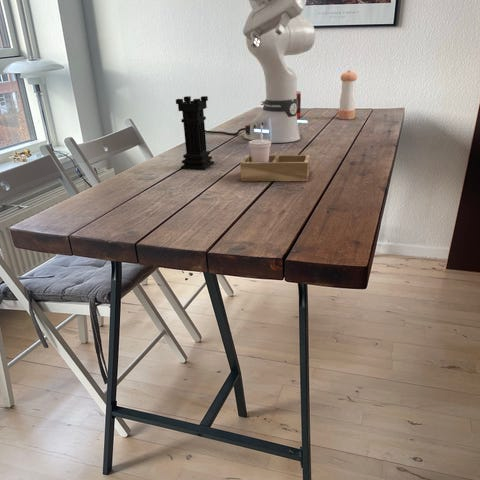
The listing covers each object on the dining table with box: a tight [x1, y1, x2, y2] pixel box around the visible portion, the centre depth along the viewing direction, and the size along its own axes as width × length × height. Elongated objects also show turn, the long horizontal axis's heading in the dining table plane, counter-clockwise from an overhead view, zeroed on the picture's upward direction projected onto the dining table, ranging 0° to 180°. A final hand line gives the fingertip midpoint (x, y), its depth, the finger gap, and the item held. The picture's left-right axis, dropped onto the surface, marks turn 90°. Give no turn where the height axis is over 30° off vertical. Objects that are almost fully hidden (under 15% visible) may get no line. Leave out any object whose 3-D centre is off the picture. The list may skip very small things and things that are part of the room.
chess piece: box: [175, 95, 215, 171], centre depth 153 cm, size 8×8×20 cm
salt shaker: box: [337, 69, 358, 120], centre depth 219 cm, size 7×7×19 cm
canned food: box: [297, 90, 302, 119], centre depth 228 cm, size 8×8×11 cm
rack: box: [239, 154, 311, 182], centre depth 142 cm, size 10×19×5 cm, turn 80°
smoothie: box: [248, 125, 272, 162], centre depth 140 cm, size 6×6×14 cm
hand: (266, 39), depth 133 cm, fingers open, 8 cm apart
